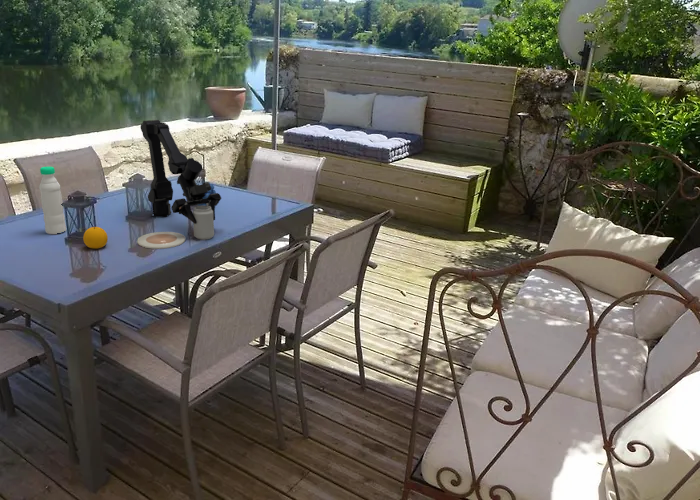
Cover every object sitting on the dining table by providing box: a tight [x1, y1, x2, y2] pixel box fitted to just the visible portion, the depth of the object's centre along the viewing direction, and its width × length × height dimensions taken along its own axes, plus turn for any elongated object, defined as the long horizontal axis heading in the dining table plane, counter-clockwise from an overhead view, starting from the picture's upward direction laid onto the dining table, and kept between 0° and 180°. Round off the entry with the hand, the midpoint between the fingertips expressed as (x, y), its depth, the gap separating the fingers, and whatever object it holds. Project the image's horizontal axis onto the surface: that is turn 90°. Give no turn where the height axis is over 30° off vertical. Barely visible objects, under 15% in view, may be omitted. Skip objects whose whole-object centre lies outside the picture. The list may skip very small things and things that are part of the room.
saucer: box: [136, 231, 186, 250], centre depth 213 cm, size 17×17×1 cm
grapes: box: [197, 182, 217, 206], centre depth 253 cm, size 12×7×12 cm, turn 152°
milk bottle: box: [38, 166, 67, 235], centre depth 213 cm, size 7×7×25 cm
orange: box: [82, 226, 109, 250], centre depth 203 cm, size 8×8×8 cm
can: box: [192, 205, 215, 241], centre depth 217 cm, size 8×8×12 cm
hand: (205, 221), depth 216 cm, fingers closed on can, 7 cm apart
